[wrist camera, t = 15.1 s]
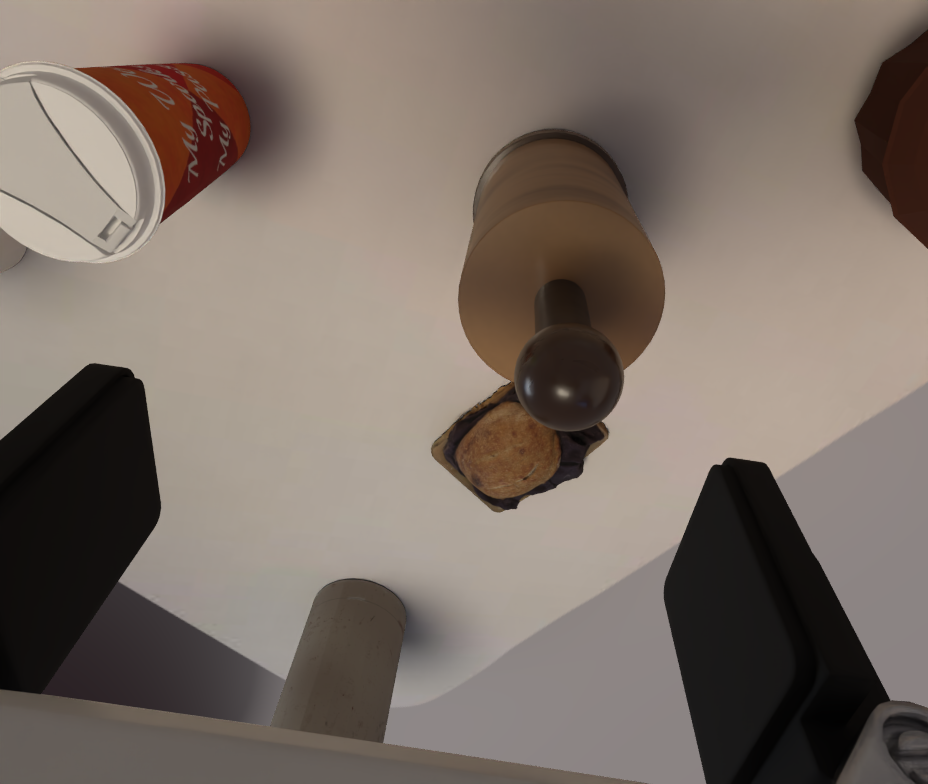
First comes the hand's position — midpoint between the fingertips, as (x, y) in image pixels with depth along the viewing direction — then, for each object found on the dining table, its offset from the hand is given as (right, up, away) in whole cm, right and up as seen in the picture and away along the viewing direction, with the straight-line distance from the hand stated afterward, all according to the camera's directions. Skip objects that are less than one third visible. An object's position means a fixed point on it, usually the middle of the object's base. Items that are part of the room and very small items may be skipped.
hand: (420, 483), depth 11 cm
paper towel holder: (+6, +12, +27) cm, 30 cm away
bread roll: (+4, -2, +36) cm, 36 cm away
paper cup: (-14, +17, +26) cm, 34 cm away
